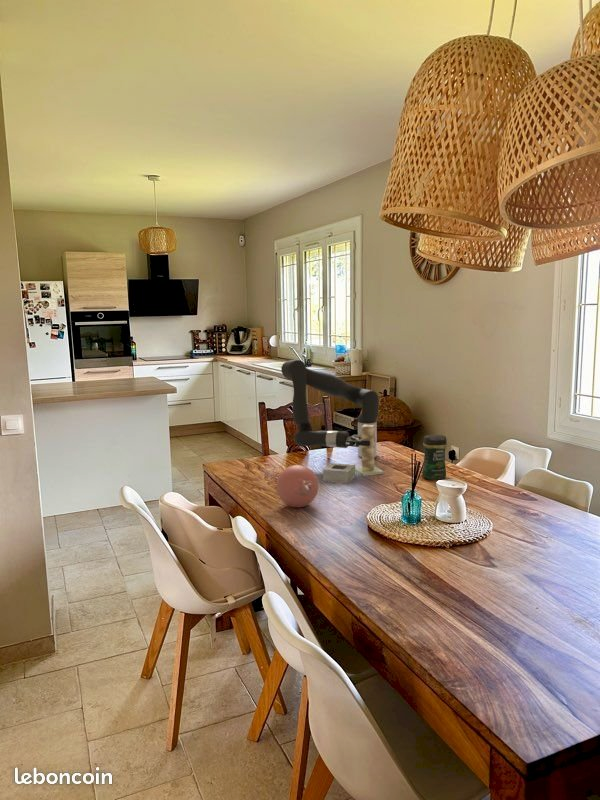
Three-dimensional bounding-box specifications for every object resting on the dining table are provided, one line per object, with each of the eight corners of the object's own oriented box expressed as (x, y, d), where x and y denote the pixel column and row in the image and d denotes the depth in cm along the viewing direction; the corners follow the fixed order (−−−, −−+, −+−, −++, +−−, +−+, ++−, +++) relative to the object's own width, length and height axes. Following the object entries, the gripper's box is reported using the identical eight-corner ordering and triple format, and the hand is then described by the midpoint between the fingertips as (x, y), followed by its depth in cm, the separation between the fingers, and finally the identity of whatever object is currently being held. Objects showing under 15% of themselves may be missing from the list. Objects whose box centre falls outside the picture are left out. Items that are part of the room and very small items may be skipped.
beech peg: (362, 470, 252) (361, 426, 249) (364, 468, 256) (364, 424, 253) (371, 471, 250) (371, 426, 247) (374, 468, 254) (374, 425, 252)
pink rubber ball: (285, 519, 195) (284, 476, 193) (272, 501, 215) (271, 462, 212) (327, 514, 199) (327, 472, 197) (311, 497, 218) (311, 459, 216)
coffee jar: (427, 481, 238) (428, 437, 235) (419, 476, 245) (420, 434, 243) (449, 479, 239) (449, 436, 237) (440, 474, 247) (441, 432, 244)
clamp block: (323, 480, 241) (322, 469, 240) (331, 474, 251) (331, 463, 250) (347, 483, 237) (347, 471, 236) (355, 476, 247) (355, 465, 246)
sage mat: (353, 470, 257) (353, 468, 256) (373, 468, 260) (373, 465, 259) (362, 475, 247) (362, 473, 247) (383, 473, 250) (383, 471, 250)
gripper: (332, 434, 250) (368, 436, 244) (342, 428, 263) (376, 430, 257) (332, 450, 251) (368, 453, 245) (342, 443, 264) (376, 446, 258)
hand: (372, 441), depth 251 cm, fingers open, 8 cm apart
